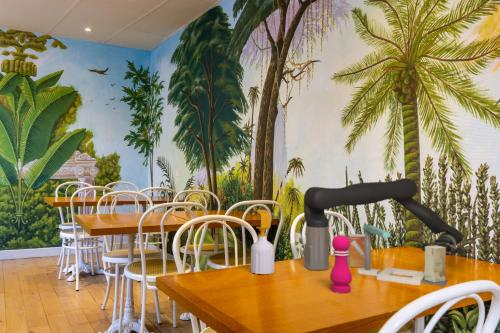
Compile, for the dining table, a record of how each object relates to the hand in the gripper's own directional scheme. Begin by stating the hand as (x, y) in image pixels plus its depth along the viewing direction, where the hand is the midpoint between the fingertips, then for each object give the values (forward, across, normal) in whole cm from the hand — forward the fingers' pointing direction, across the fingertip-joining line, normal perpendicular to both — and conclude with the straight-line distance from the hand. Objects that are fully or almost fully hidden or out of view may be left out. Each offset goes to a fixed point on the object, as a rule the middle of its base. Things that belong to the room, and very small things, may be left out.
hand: (439, 251), depth 163 cm
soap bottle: (+31, -60, +9) cm, 68 cm away
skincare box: (+11, 0, +9) cm, 14 cm away
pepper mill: (+39, -25, +9) cm, 48 cm away
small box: (0, -32, +10) cm, 33 cm away
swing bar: (+18, -19, -8) cm, 28 cm away
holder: (+11, -16, +9) cm, 21 cm away
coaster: (+11, 0, +9) cm, 14 cm away
